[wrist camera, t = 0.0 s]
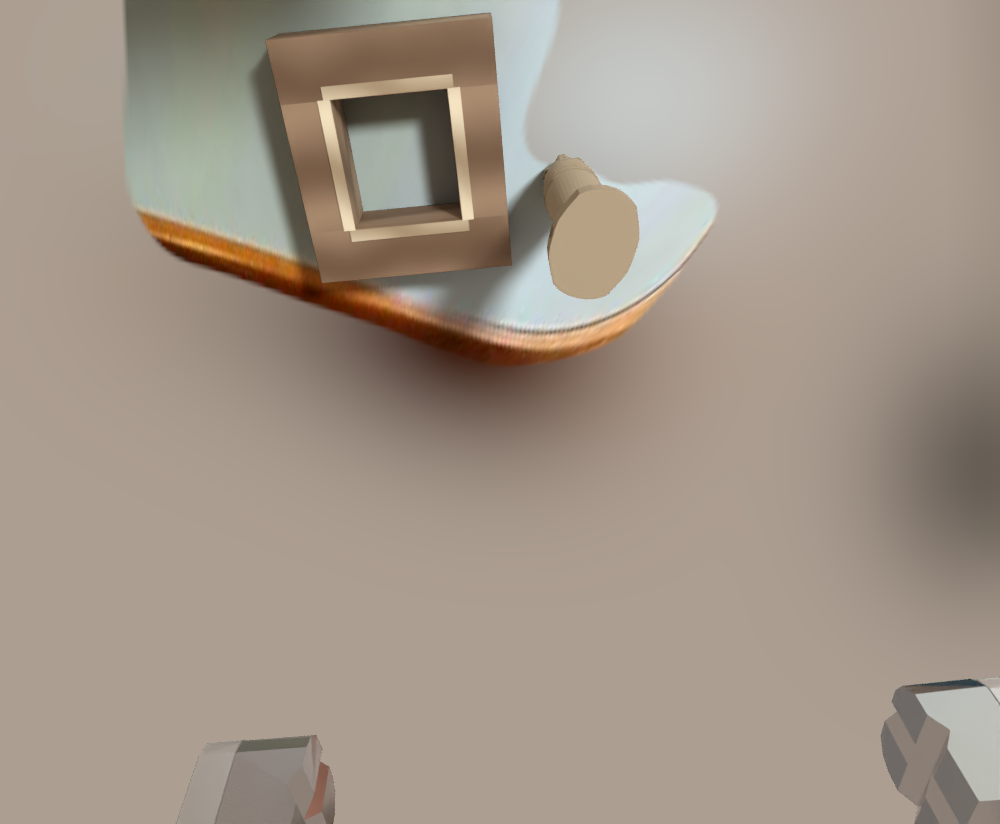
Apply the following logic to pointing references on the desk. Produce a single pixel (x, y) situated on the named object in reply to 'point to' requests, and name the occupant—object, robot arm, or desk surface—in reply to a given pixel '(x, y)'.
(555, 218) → the handle
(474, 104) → the square wooden frame
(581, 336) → the desk surface
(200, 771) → the robot arm
